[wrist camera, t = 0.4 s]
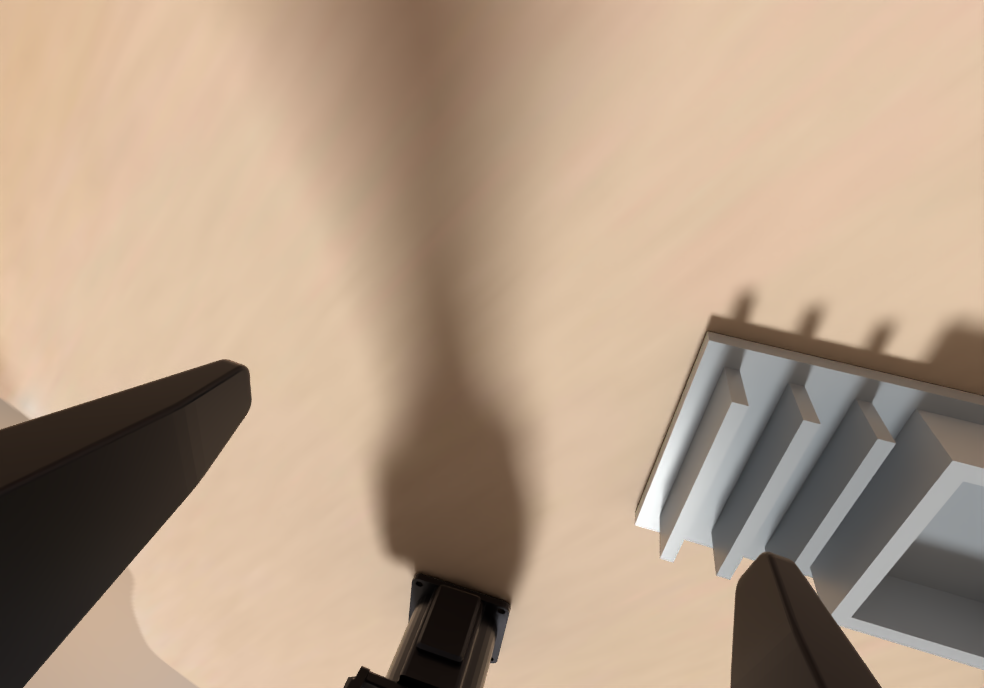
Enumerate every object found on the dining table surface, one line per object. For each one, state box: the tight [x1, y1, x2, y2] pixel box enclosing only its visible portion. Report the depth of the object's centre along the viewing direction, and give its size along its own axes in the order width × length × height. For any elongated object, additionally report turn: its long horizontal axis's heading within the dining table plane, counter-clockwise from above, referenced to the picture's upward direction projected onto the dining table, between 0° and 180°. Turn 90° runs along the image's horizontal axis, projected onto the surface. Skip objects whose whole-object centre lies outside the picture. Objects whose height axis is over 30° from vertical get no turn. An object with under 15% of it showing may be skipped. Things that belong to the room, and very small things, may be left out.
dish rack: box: [635, 331, 984, 670], centre depth 22 cm, size 11×18×4 cm, turn 82°
